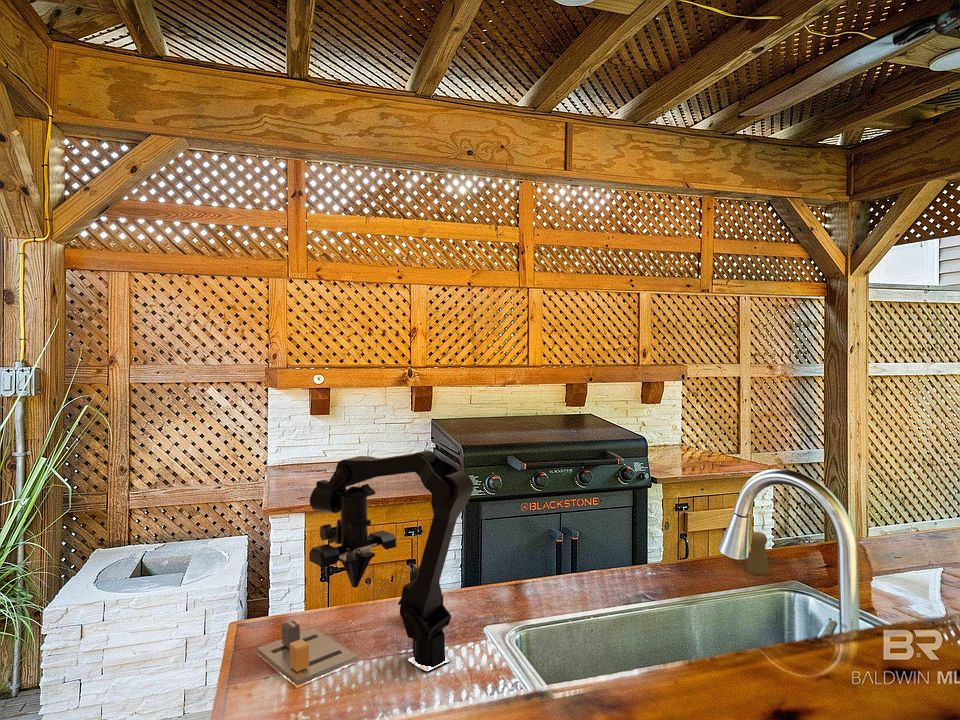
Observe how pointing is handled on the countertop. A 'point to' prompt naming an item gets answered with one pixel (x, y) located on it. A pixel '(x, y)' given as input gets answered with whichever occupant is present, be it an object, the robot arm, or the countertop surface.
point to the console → (321, 656)
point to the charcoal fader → (290, 633)
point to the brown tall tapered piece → (758, 555)
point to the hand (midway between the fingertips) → (354, 586)
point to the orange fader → (299, 655)
